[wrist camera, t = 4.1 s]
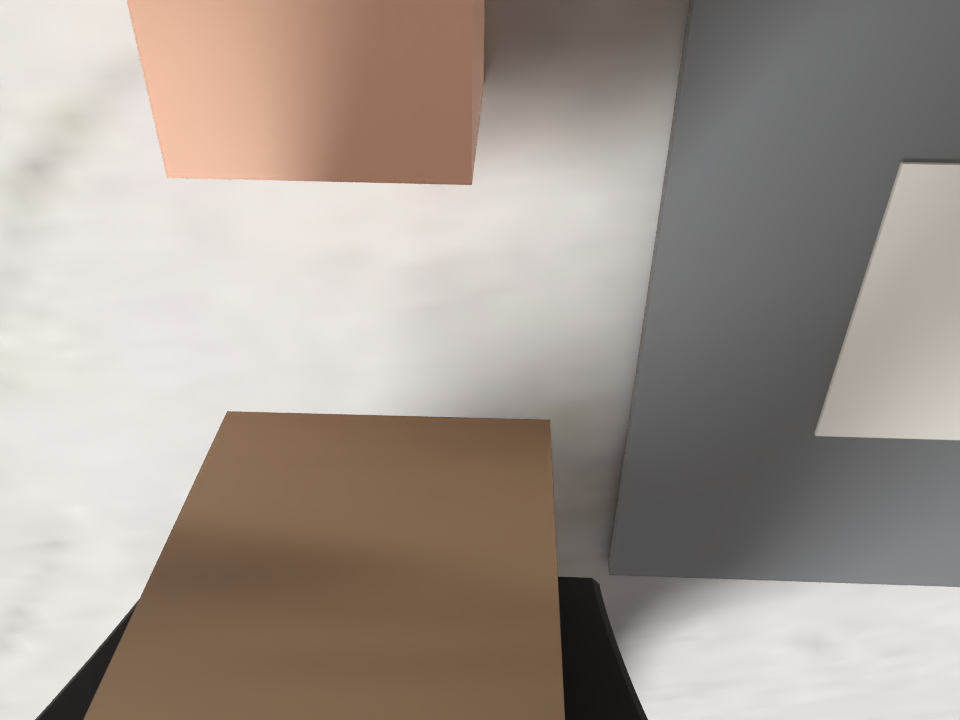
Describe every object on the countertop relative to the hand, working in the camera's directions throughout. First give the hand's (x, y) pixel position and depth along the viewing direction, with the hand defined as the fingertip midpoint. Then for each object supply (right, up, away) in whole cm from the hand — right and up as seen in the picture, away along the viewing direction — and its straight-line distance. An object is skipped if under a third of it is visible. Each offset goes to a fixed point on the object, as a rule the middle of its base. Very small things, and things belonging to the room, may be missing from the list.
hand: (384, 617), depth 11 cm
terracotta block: (-1, +11, +3) cm, 11 cm away
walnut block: (0, +1, +1) cm, 2 cm away
